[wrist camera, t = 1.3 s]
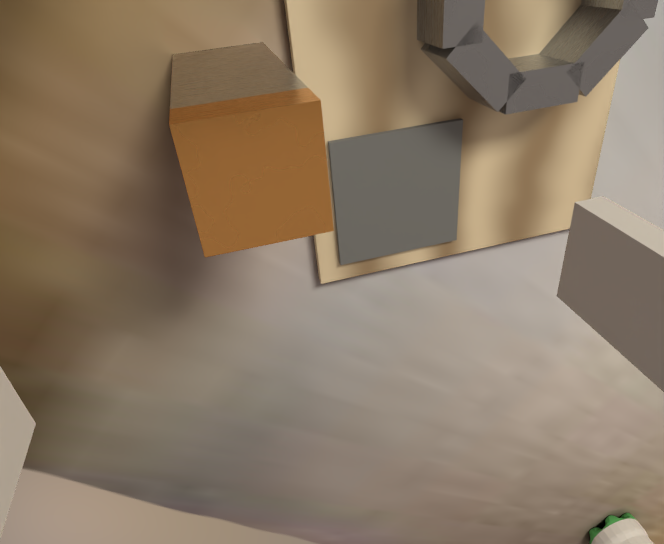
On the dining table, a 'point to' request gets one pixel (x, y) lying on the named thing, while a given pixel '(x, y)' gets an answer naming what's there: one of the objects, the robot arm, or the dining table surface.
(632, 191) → the dining table surface
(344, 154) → the pad
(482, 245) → the board
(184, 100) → the block
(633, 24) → the grey octagonal ring
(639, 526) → the cup
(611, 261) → the robot arm
